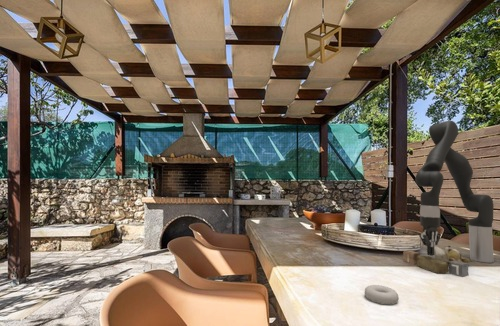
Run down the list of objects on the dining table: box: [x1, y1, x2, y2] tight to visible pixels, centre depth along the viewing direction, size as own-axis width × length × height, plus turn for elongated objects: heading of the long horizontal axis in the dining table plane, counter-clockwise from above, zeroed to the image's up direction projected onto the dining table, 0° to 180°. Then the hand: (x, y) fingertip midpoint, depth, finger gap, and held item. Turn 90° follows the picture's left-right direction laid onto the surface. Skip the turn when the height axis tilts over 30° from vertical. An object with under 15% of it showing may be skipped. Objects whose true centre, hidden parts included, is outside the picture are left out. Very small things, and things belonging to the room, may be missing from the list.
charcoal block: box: [448, 260, 469, 278], centre depth 116 cm, size 5×5×5 cm
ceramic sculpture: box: [433, 245, 473, 264], centre depth 133 cm, size 11×9×15 cm
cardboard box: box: [402, 250, 421, 265], centre depth 133 cm, size 5×5×5 cm
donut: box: [364, 284, 400, 305], centre depth 89 cm, size 10×4×10 cm
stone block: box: [416, 255, 449, 275], centre depth 122 cm, size 6×12×5 cm, turn 13°
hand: (430, 255), depth 122 cm, fingers closed
